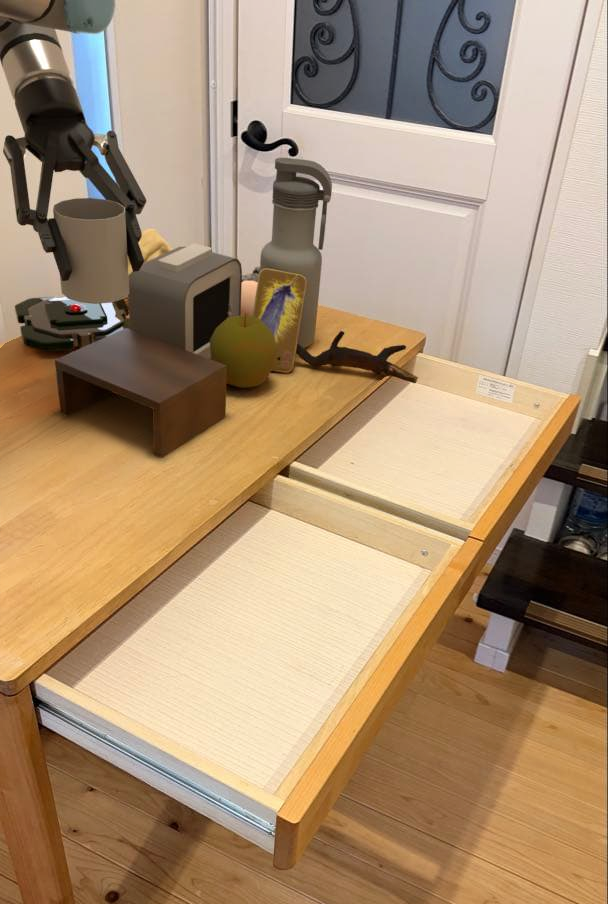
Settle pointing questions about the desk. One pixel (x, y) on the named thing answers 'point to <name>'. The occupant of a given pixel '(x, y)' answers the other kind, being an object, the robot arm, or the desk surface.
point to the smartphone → (281, 311)
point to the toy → (357, 359)
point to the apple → (244, 350)
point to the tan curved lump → (151, 246)
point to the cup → (94, 249)
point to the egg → (248, 297)
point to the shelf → (147, 383)
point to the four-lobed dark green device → (68, 322)
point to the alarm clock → (185, 296)
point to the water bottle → (298, 232)
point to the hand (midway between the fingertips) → (103, 270)
